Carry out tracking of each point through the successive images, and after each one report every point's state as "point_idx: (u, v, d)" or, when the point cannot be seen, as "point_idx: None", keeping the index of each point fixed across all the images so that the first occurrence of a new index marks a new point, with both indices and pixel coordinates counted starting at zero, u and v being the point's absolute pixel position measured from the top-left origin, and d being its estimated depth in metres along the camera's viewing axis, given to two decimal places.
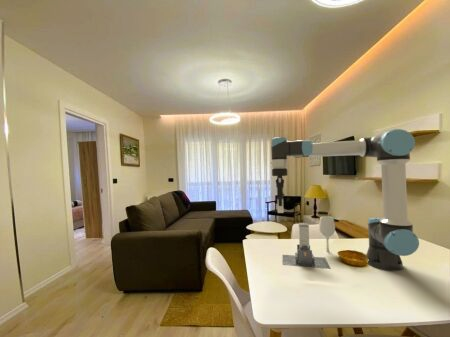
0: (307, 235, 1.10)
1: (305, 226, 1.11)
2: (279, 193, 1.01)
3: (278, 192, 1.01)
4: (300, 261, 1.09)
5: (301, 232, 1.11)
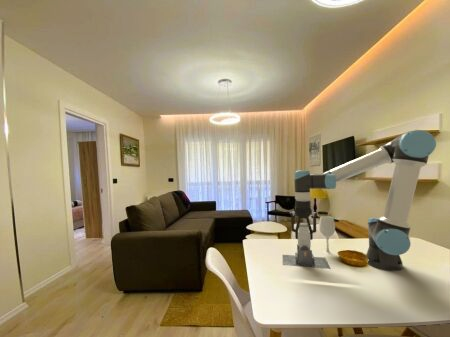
0: (307, 235, 1.10)
1: (305, 226, 1.11)
2: None
3: (291, 225, 1.15)
4: (300, 261, 1.09)
5: (301, 232, 1.11)
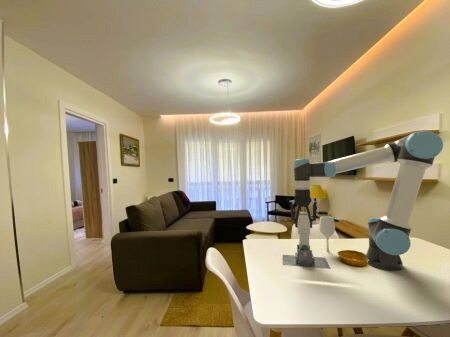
0: (306, 224, 1.10)
1: (305, 214, 1.11)
2: (291, 215, 1.15)
3: None
4: (300, 261, 1.09)
5: (301, 221, 1.11)
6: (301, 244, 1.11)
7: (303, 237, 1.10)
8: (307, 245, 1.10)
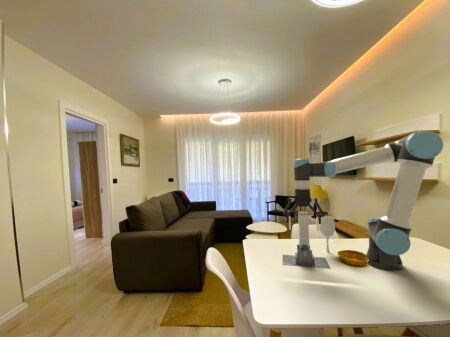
0: (306, 223, 1.10)
1: (305, 214, 1.11)
2: (284, 211, 1.16)
3: (284, 210, 1.16)
4: (300, 261, 1.09)
5: (301, 221, 1.11)
6: (301, 244, 1.11)
7: (303, 237, 1.10)
8: (307, 245, 1.10)
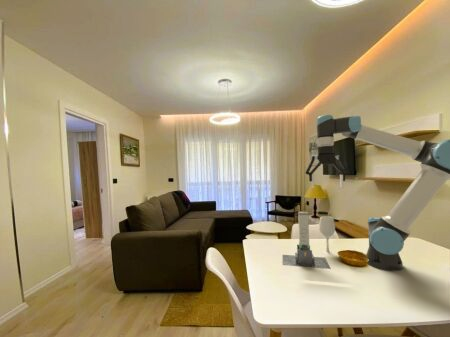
0: (306, 223, 1.10)
1: (305, 214, 1.11)
2: None
3: (307, 169, 1.15)
4: (300, 261, 1.09)
5: (301, 221, 1.11)
6: (301, 244, 1.11)
7: (303, 237, 1.10)
8: (307, 245, 1.10)
